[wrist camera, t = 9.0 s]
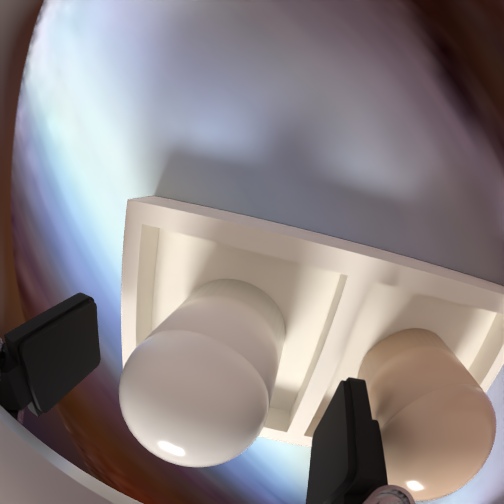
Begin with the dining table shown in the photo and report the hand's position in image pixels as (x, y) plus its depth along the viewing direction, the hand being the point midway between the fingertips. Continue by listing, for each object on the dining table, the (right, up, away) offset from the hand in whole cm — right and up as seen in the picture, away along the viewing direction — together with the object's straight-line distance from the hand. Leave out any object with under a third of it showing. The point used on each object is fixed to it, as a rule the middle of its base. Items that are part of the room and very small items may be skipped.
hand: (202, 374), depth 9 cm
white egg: (+1, +1, +3) cm, 4 cm away
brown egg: (+9, -1, +2) cm, 9 cm away
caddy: (+5, 0, +3) cm, 6 cm away
